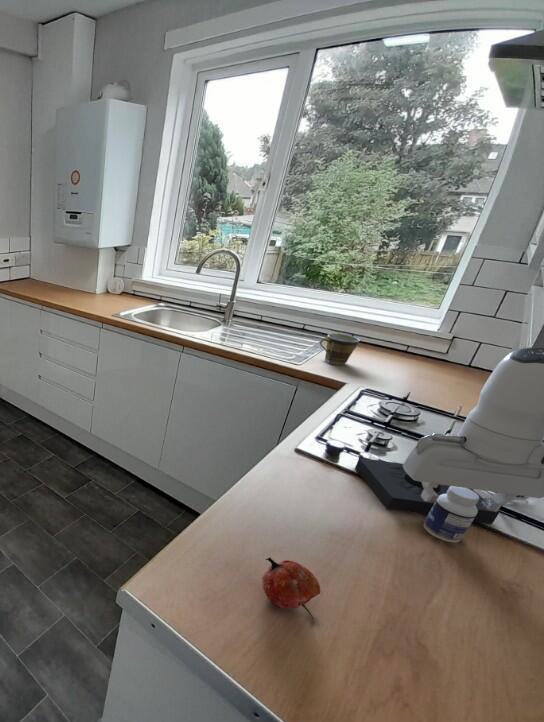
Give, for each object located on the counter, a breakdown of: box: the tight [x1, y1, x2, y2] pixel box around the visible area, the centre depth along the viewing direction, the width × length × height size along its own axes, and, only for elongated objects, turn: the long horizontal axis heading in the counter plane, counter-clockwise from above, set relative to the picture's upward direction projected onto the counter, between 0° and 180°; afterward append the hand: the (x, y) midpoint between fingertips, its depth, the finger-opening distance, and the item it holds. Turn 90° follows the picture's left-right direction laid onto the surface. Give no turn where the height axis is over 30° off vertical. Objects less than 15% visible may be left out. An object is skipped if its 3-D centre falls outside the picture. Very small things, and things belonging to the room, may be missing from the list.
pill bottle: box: [423, 486, 479, 543], centre depth 76 cm, size 5×5×10 cm
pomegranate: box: [261, 556, 321, 620], centre depth 63 cm, size 7×7×10 cm
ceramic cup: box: [319, 333, 361, 366], centre depth 155 cm, size 13×10×10 cm
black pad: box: [354, 458, 500, 525], centre depth 87 cm, size 18×14×3 cm
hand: (457, 504), depth 75 cm, fingers open, 8 cm apart
